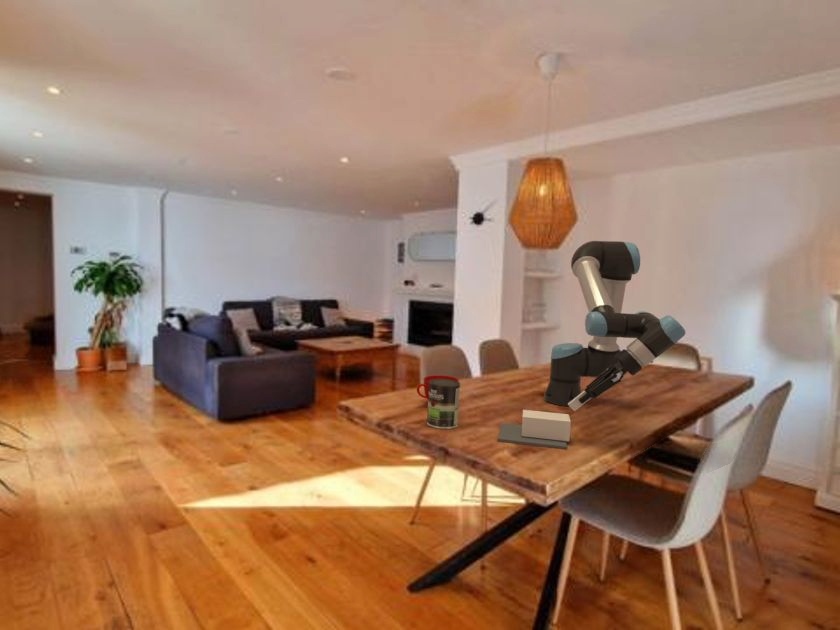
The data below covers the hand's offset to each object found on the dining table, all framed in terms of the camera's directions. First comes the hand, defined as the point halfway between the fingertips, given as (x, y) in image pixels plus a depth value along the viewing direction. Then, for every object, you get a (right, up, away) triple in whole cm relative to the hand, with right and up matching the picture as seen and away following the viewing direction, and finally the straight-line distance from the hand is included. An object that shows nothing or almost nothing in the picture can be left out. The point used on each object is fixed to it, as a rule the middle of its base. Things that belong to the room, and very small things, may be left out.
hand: (571, 407), depth 148 cm
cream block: (0, -6, +1) cm, 6 cm away
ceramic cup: (-40, -6, +33) cm, 52 cm away
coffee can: (-39, -8, +12) cm, 41 cm away
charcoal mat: (-11, -10, +3) cm, 15 cm away
